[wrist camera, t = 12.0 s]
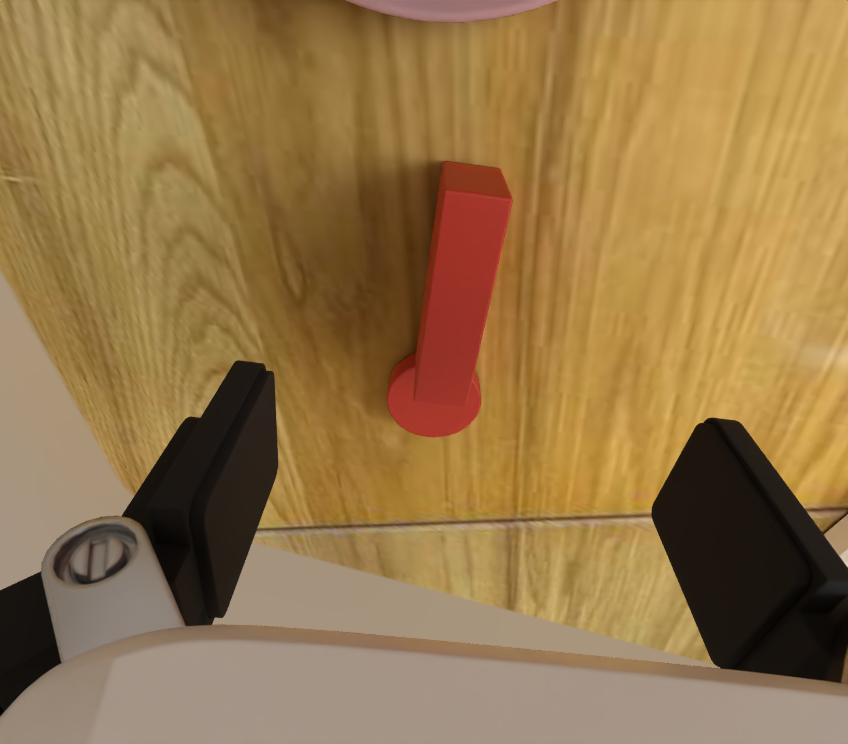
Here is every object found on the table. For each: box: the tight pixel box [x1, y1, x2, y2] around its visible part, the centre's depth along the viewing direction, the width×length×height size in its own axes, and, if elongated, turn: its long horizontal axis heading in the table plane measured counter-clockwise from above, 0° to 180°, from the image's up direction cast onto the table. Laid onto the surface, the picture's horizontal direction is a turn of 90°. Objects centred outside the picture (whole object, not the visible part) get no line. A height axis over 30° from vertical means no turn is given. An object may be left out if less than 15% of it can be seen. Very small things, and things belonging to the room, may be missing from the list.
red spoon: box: [387, 161, 513, 437], centre depth 17 cm, size 10×4×3 cm, turn 173°
